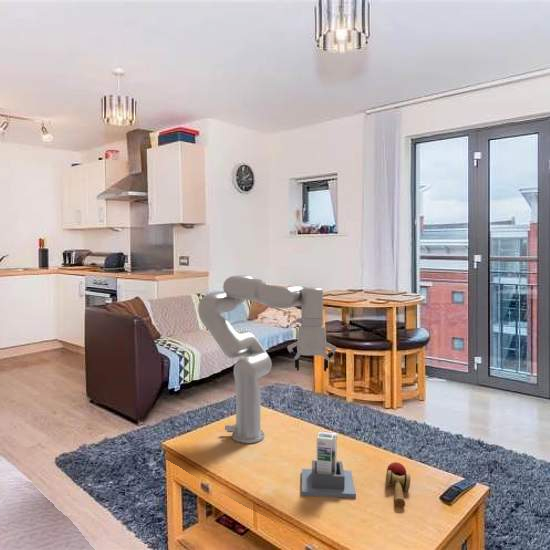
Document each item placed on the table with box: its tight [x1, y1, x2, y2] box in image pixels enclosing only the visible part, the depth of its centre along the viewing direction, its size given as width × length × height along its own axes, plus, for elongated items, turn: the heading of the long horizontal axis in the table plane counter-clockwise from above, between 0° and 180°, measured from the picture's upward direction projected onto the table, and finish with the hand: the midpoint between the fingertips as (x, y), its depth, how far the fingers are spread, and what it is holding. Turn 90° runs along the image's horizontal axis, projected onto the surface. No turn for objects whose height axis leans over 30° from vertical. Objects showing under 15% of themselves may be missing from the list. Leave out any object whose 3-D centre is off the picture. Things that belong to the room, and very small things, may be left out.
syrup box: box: [316, 431, 338, 475], centre depth 140 cm, size 6×6×14 cm
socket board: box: [301, 459, 357, 499], centre depth 140 cm, size 16×14×5 cm
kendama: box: [385, 461, 411, 509], centre depth 136 cm, size 8×6×18 cm
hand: (311, 370), depth 160 cm, fingers open, 9 cm apart
